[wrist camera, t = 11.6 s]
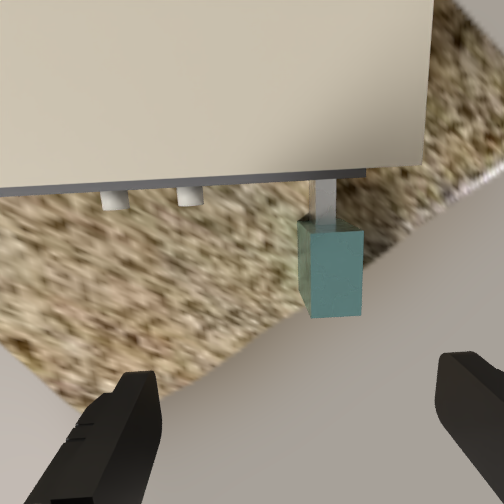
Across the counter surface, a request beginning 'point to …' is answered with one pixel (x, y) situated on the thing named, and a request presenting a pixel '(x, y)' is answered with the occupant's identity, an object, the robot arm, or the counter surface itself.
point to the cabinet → (207, 93)
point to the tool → (329, 257)
